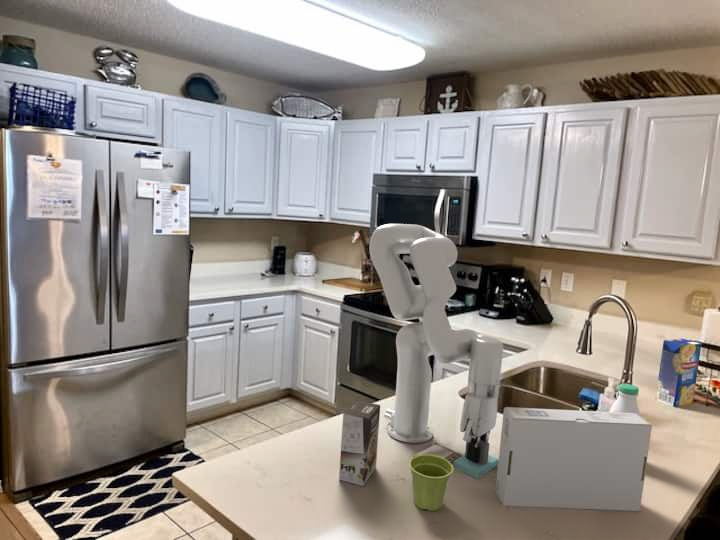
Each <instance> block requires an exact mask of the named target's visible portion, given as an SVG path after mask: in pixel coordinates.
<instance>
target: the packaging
mask: <svg viewBox="0 0 720 540" xmlns="http://www.w3.org/2000/svg"><path fill="white" fill-rule="evenodd" d="M652 428H653V426H652V424H651V423H650V422H648V420H647V421H646V420H645V419H644V418H643V417H642V416H641V417H640V416H638V415H637V414H635V413H619V412H610V411H593V410H573V409H555V408H552V409H551V408H535V407H534V408H533V407H532V408H531V407H512V406H509V407H508V406H505V407H504V408H503V414H502V424H501V433H500V442H499V443H500V444H499V454H498V465H497V473H496V482H495V483H496V484H495V493H496V494H497V496H498V499H499V500H500V503H501V504H502V506H503V507H505V506H507V507H527V508H529V507H532V508H552V509H553V508H554V509H555V508H556V509H577V510H580V509H581V510H599V511H600V510H604V511H605V510H606V511H628V512H629V511H632V512H641V507H642V506H641V504H642V498H643V492H644V485H645V484H644V483H645V478H646V471H647V463H648V457H649V450H650V442H651V435H652Z"/></svg>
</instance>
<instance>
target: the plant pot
mask: <svg viewBox="0 0 720 540" xmlns="http://www.w3.org/2000/svg"><path fill="white" fill-rule="evenodd" d="M408 466H409V469H410V473H411V475H412V477H411V478H412V491H413V492H412V494H413V495H412V497H413V503H414V504H415V505H416V507H417V508H420V509H421V510H427V511H430V512H432V511H433V512H435V511H438V510H440V509H441V507H442V506H443V502H444V498H445V493H446V490H447V487H448V483H449V479H450V477H451V475H452V474H453V472H454V467H453V466H452V464H451V463H450V462H449V461H447V460H446V459H444V458H442V457H439V456H435V455H418V456H415V457H412V458H411V459H410V460H409V463H408Z"/></svg>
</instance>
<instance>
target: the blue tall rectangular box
mask: <svg viewBox="0 0 720 540" xmlns="http://www.w3.org/2000/svg"><path fill="white" fill-rule="evenodd" d="M701 350H702V343H701V342H698V341H693V340H690V339H686V338H673V339H664V340H663V342H662V350H661V351H662V352H661V357H660V358H661V359H660V362H659V363H660V364H659V370H658V371H659V372H658V379H657V384H656V385H657V387H656V391H655V392H656V393H655V401H657V402H660V403H663V404H665V405H668V406H671V407H673V408H676V407H681V406H687V405H690V404H693V403H694V396H695V391H696V384H697V376H698V371H699V370H698V369H699V363H700V357H701Z"/></svg>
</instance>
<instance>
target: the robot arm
mask: <svg viewBox="0 0 720 540" xmlns="http://www.w3.org/2000/svg"><path fill="white" fill-rule="evenodd" d="M368 247H369V255H370V259H371V262H372V264H373V266H374V268H375V270H376V272H377V274H378V277H379V279H380V282H381V287H382V289H383V292H384V295H385V298H386V301H387V304H388V306H389V309H390V312H391V314H392V316H393V317H394V318H395V319H396V320H399V321H410V320H417V319H418V320H419V321H418V322H413V323H409V324H406V325H403V326H402V327H401V328H400V329H399V330H398V332H397V334H396V338H395V346H396V355H397V358H396V359H397V371H396V384H395V385H396V388H395V401H394V410H393V409H392V408H387V409H386V411H385V413H384V417H383V418H384V419H387V420H389V421H390V422H389V424H388V425H387V433H388V434H389V436H391V438H393V439H395V440H397V441H400V442H404V443H411V444H420V443H424V442H427V441H429V440H431V439H432V437H433V433H434V432H433V429H432V427H430V426H429V424H428V423H429V411H430V402H431V401H430V400H431V388H432V374H433V373H432V368H431V365H430V363H429V357H430V356H434V358H435V359H436V360H437V361H438V362H440V363H442V364H452V363H456V362H461V361H466V360H467V361H468V360H469V364H468V365H469V366H468V377H467V387H466V392H467V393H466V395H465V397H464V401H463V406H462V411H461V412H462V413H461V418H460V427H459V430H460V432H461V433H464V434H463V439H462V441H464V442H466V441H467V444H468V449H467V459H469V460H471V461H473V462H475V463H478V462H479V459H480V449H481V447H479V444H480V440H483V441H485V442H488V443H489V439H490V434H491V431H492V430H493V429H494V428H495V427H496V423H497V417H498V397H499V394H500V393H499V392H500V384H501V383H500V382H501V374H502V363H503V355H504V343H503V342H502V341H501V340H500V339H498V338H496V337H494V336H486V335H483V334H481V333H479V332H477V331H476V330H473V329H469V328H463V329H457V330H452V326H451V324H450V320H449V318H448V316H447V312H446V310H445V309H446V305H447V303H448V301H449V300H450V298H451V297H452V296H454V294H455V293H456V291H457V286H456V282H455V280H454V278H453V275H452V274H451V273H452V272H451V271H450V267H452V266H453V265H455V263H456V262H457V259H458V254H459V253H458V248H457V246H456V244H455V242H454V241H453V240H451V239H450V238H449V237H446V236H445V235H443V234H441V233H438V232H436V231H434V230H432V229H430V228H428V227H426V226H423V225H419V224H415V223H414V224H411V223H410V224H409V223H408V224H407V223H405V224H404V223H387V224H386V223H385V224H383V225H380V226H378V227H377V228H375V229H374V231H373V232H372V235H371V237H370V241H369V246H368ZM399 254H403V255H404V254H405V255H406V254H409V257H410V260H411V263H412V265H413V266H412V267H413V268H414V270H415V271H414V272H415V274H416V275H417V276H416V277H417V279H418V282H419V284H418V285H416V284H415V283H414V281H413V279H412V276H411V273H410V271H409V269H408V266H407V265H406V264H405V262H404V261H403V260H402V259H401V258H400V257H399V256H398V255H399ZM472 437H475V438H476V440H475V439H474V438H472Z"/></svg>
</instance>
